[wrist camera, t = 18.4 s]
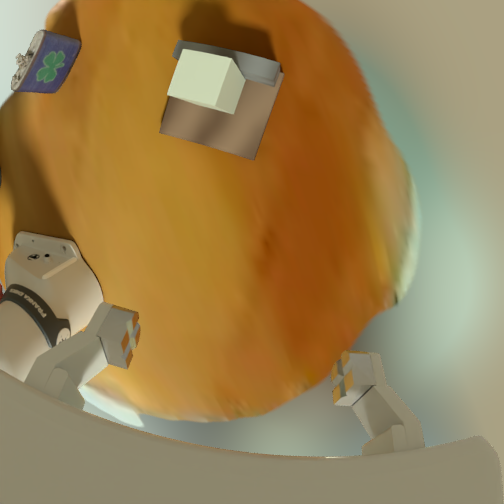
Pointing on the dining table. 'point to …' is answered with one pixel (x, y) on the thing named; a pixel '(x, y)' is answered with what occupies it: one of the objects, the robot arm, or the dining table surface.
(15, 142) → the dining table surface
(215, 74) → the cabinet block
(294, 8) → the dining table surface
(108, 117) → the dining table surface
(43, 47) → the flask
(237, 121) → the display stand
